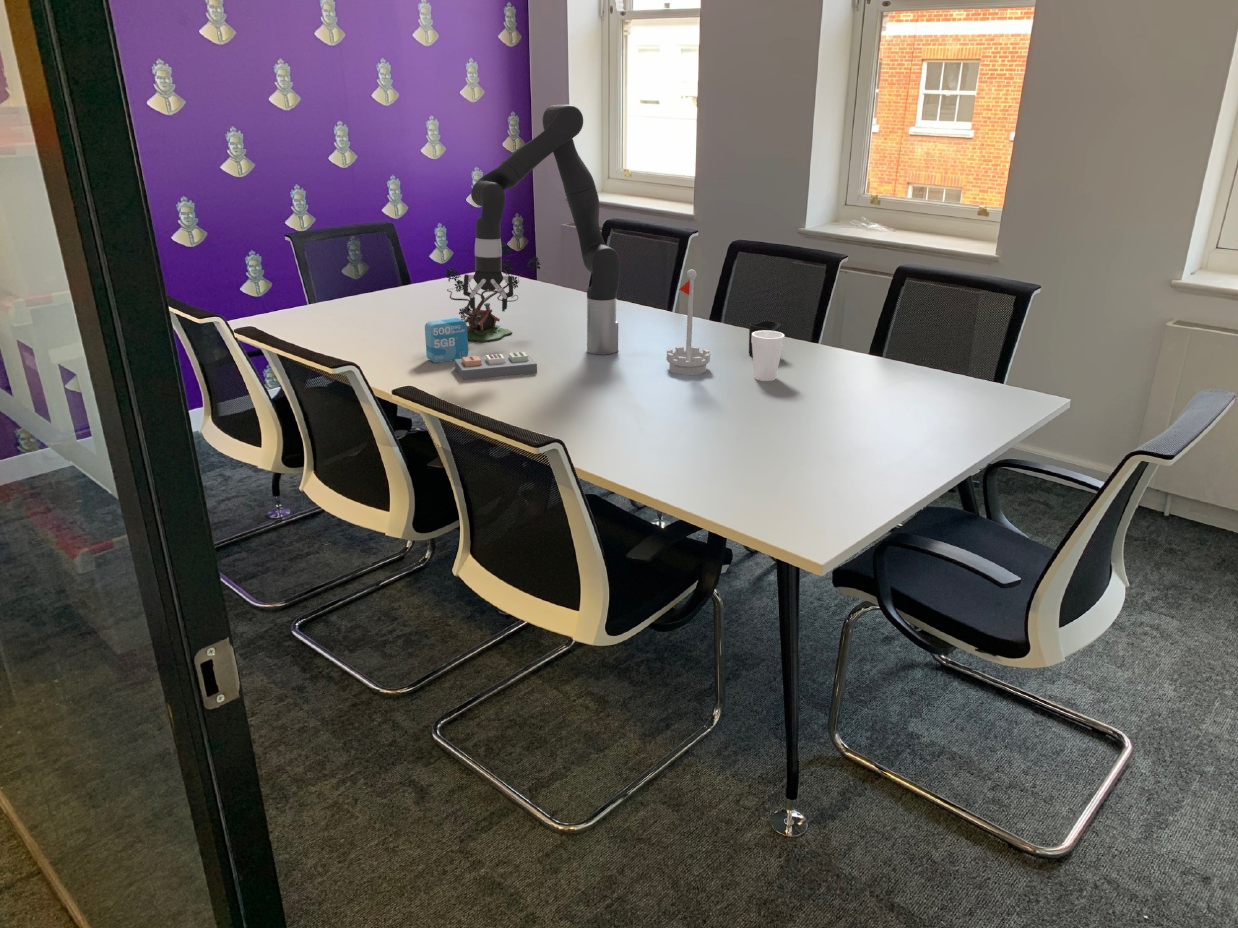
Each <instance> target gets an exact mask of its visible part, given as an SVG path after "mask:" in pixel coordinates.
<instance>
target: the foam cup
mask: <svg viewBox="0 0 1238 928" xmlns="http://www.w3.org/2000/svg"><path fill="white" fill-rule="evenodd" d="M751 343H752V352H753V357H752V365H753V376H754V377H753V378H754V380H757V381H762V382H772V381H775V380H776V378H777V374H778V370H779V366H780V361H781V356H782V350H783V345H784V344H785V334H784V333H783V332H780V331H779V332H777V331H769V330H762V331H755V332H753V333H752V338H751Z"/></svg>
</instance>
